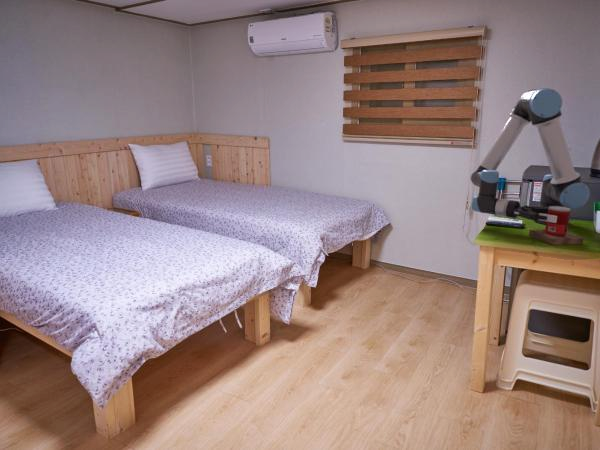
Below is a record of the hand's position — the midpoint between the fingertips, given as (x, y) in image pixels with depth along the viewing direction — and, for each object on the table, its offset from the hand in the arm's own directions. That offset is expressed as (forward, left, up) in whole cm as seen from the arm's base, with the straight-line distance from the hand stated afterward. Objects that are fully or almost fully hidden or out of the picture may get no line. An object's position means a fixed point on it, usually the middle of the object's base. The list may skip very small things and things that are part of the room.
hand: (561, 216), depth 187 cm
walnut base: (+1, -1, -10) cm, 10 cm away
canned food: (+1, -1, -8) cm, 8 cm away
